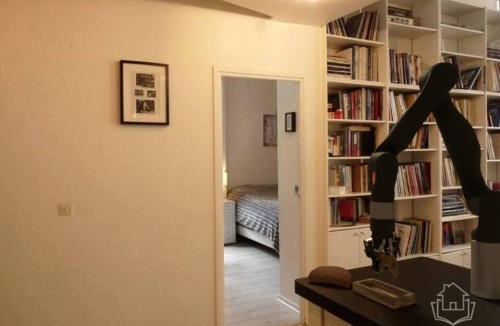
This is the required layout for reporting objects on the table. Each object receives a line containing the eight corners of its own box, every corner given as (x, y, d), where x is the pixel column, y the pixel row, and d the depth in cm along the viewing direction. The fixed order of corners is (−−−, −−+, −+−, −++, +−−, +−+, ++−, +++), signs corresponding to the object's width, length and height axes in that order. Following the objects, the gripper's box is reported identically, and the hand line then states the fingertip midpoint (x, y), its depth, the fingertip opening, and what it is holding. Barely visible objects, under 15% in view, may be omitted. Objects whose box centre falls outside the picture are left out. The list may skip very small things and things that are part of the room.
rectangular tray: (373, 286, 131) (373, 278, 131) (415, 303, 116) (415, 293, 116) (352, 290, 127) (352, 282, 127) (393, 308, 112) (393, 299, 112)
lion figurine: (361, 270, 125) (361, 242, 125) (373, 267, 128) (373, 240, 127) (398, 283, 112) (398, 252, 112) (410, 280, 115) (411, 250, 115)
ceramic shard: (359, 263, 141) (350, 281, 128) (357, 279, 143) (348, 298, 129) (320, 253, 148) (307, 269, 134) (318, 269, 149) (306, 286, 136)
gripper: (374, 219, 114) (373, 277, 115) (408, 216, 121) (407, 270, 121) (356, 216, 121) (356, 270, 121) (389, 212, 127) (389, 264, 128)
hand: (382, 270), depth 121 cm, fingers closed on lion figurine, 4 cm apart
